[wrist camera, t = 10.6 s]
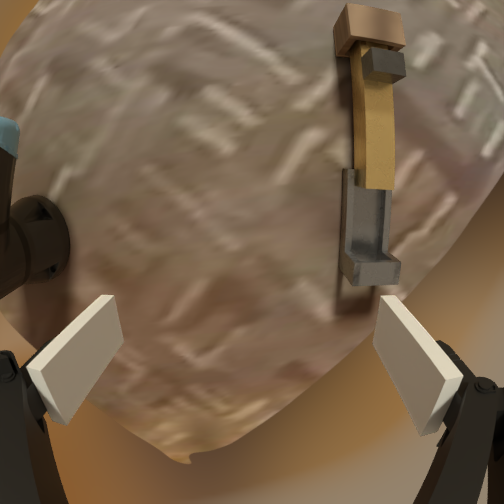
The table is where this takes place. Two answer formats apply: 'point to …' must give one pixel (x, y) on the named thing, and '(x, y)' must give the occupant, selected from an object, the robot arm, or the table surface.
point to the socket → (367, 28)
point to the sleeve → (366, 235)
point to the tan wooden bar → (374, 112)
